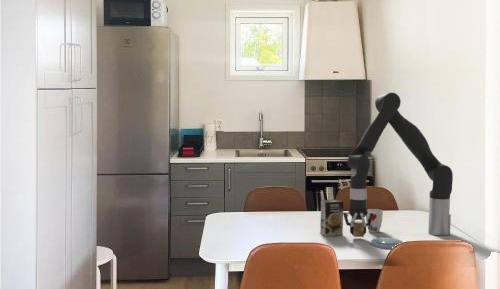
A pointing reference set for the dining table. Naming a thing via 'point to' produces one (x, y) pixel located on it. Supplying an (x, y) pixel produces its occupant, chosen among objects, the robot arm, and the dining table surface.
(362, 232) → the block
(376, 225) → the cup
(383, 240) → the dish
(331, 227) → the coffee box
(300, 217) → the dining table surface
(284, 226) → the dining table surface
